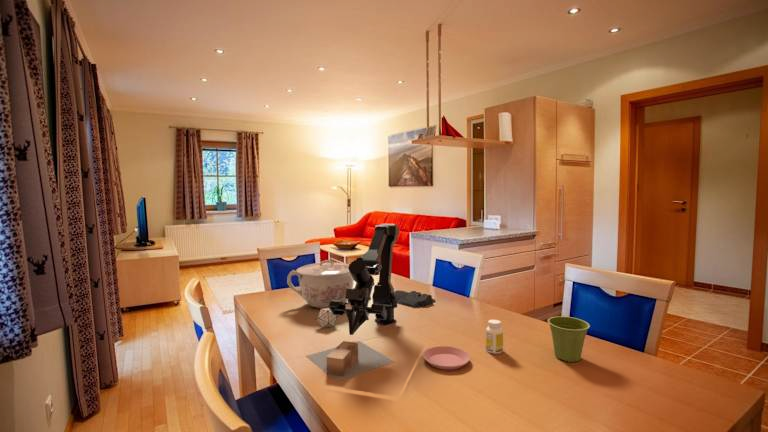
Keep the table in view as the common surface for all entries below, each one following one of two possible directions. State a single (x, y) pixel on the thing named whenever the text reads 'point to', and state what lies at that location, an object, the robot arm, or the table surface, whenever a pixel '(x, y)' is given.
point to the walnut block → (342, 358)
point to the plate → (446, 357)
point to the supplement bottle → (494, 337)
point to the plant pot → (568, 337)
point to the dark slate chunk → (413, 299)
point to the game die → (326, 318)
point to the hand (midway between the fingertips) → (350, 334)
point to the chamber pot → (323, 282)
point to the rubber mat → (365, 362)
